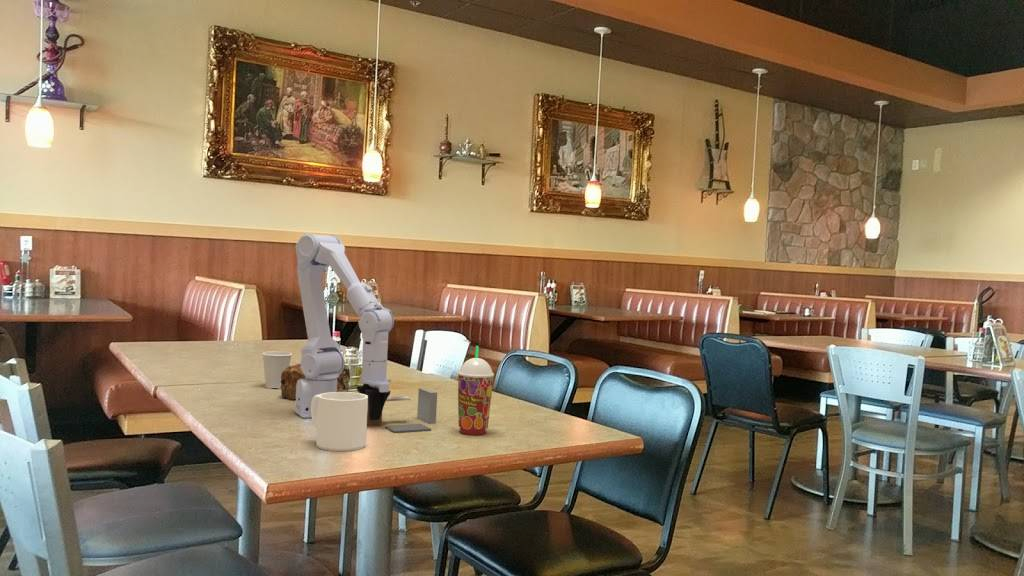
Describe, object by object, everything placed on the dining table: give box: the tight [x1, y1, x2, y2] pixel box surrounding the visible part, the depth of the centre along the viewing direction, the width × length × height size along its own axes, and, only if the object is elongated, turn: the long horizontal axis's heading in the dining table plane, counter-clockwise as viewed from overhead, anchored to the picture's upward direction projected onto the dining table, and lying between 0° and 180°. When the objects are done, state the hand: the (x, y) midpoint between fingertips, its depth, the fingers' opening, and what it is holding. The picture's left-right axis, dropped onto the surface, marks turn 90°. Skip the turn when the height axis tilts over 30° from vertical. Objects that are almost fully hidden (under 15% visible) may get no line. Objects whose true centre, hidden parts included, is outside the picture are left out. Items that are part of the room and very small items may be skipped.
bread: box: [280, 363, 351, 401], centre depth 215 cm, size 19×11×10 cm, turn 157°
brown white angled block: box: [367, 395, 411, 427], centre depth 184 cm, size 11×4×6 cm, turn 120°
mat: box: [384, 423, 432, 434], centre depth 179 cm, size 9×6×1 cm, turn 120°
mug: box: [311, 391, 368, 452], centre depth 161 cm, size 13×10×10 cm
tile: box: [416, 387, 438, 425], centre depth 189 cm, size 2×7×8 cm, turn 30°
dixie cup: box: [261, 350, 293, 389], centre depth 225 cm, size 8×8×10 cm
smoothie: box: [457, 345, 495, 436], centre depth 179 cm, size 8×8×20 cm
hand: (371, 417), depth 182 cm, fingers closed on brown white angled block, 4 cm apart
